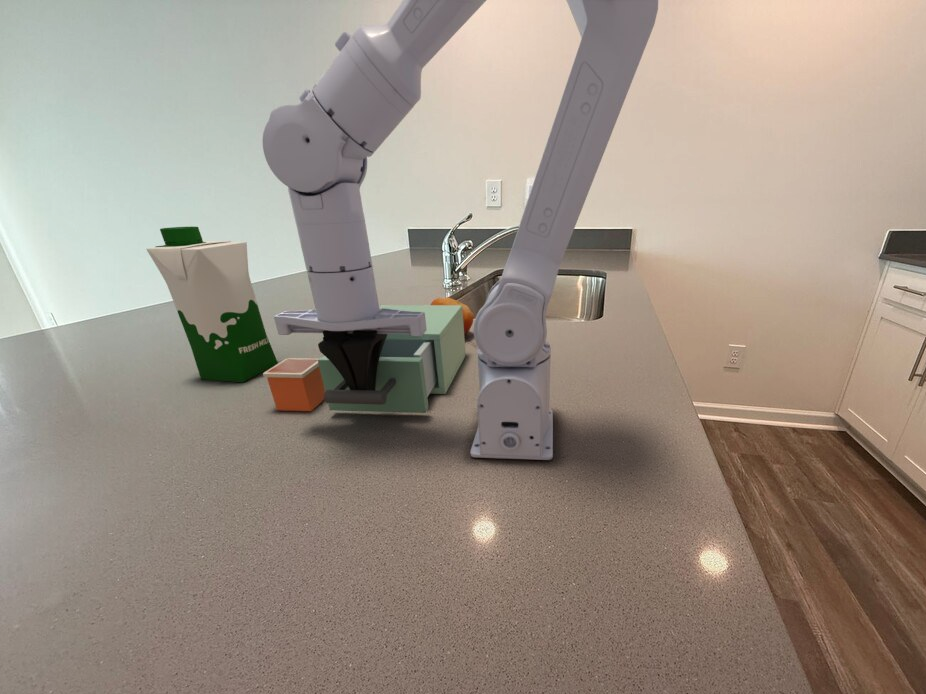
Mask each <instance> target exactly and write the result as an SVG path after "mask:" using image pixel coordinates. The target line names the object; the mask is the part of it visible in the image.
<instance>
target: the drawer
mask: <svg viewBox="0 0 926 694" xmlns="http://www.w3.org/2000/svg"><path fill="white" fill-rule="evenodd" d="M317 359H318V364H319V368H320V372H321V376H322V380H323V384H324V388H325V393H324V400H323V401H324V402H325V403H326V404H327V405H328V409H329V411H339V412H342V411H343V412H344V411H345V412H375V413H377V412H378V413H413V414H414V413H415V414H416V413H417V414H427V411H428V409H429V408H430V407H429V399H428V397H429V395H431V394H430V392H431V390H432V389H433V387H434V386H435V384H436V382H437V381H438V374H437V365H436V356H435V347H434V340H398V339H386V340H385V342H384V345H383V348H382V351H381V355H380V358H379V363H378V368H377V374H376V387H375V391H374V390H350V389H349V387H348V385H347V383H346V382H345V380H344V379H343V377H342V375H341V374H340V373H339V371H338V370H337V369H336V367H335V366H334V365H333V364H332V363H331V362H330V360H329V359H328V358H327V357H326V356H324V355H322V356H321V357H320V358H317Z"/></svg>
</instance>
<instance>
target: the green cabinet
mask: <svg viewBox="0 0 926 694" xmlns="http://www.w3.org/2000/svg"><path fill="white" fill-rule="evenodd" d="M379 308H387V309H395V310H403V311H414V312H425V319H426V328H427V330H426V331H425V333H424V334H423V335H422V336H421V337H413V336H411V334H387V337H386V339H398V340H434V347H435V356H436V365H437V374H438V381H437V382H436V384H435V386H434V387H433V389H432V390H431V392H430V394H429V395H446V394H447V392H448V390H449V388H450V386H451V385H452V382H453V380H454V379H455V376H456V375H457V373H458V371H459V369H460V367H461V365H462V363H463V361H464V360H465V358H466V355H467V354H466V353H467V352H466V339H465V336H464V324H463V311H462V305H431V304H381V305H379Z"/></svg>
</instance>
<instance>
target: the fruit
mask: <svg viewBox="0 0 926 694" xmlns="http://www.w3.org/2000/svg"><path fill="white" fill-rule="evenodd" d="M430 305H462V311H463V324H464V337H466V336H467V334H468V333H469V332H470V330H471V328H472V326H473V325H474V320H475V315H474V313H473V312H472V311H471V310H470V309H471V308H470V307H469V306H468V305H467V304H464V303H462V302H461V301H459V300H456V299H453V298H451V297H448V296H447V297H437V298H434V300H432V301H431V302H430Z"/></svg>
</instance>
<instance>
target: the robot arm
mask: <svg viewBox="0 0 926 694" xmlns="http://www.w3.org/2000/svg"><path fill="white" fill-rule="evenodd" d="M565 1H566V3H567V4H568V8H569V10H570V12H571V16H572V18H573V20H574V22H575V25H576V27H577V30H578V32H579V35H580V37H581V40H580V43H579V45H578V48H577V52H576V55H575V57H574V61H573V64H572V67H571V70H570V73H569V75H568V79H567V82H566V84H565V86H564V87H565V88H564V90H563V93H562V95H561V96H562V97H561V99H560V103H559V106H558V108H557V111H556V115H555V118H554V120H553V123H552V126H551V130H550V132H549V136H548V138H547V142H546V144H545V146H544V147H545V148H544V151H543V153H542V156H541V159H540V162H539V165H538V169H537V170H536V174H535V176H534V180H533V183H532V187H531V189H530V192H529V195H528V198H527V200H526V204H525V206H524V211H523V213H522V216H521V219H520V222H519V225H518V228H517V231H516V234H515V238H514V240H513V243H512V246H511V249H510V251H509V254H508V257H507V261H506V263H505V265H504V268H503V271H502V274H501V276H500V279H498V281H497V282H496V283H495V284H494V285H492V287H491V288H490V289H489V291H488V294H487V296H486V299H485V302H484V305H483V306H481V308H480V309H479V310H478V311H477V314H476V315H475V317H474V321H473V337H474V341H475V343H476V346H477V349H476V350H477V351H476V352H477V353H476V354H477V368H478V384H479V386H478V387H479V392H478V395H477V399H476V400H477V402H476V405H477V407H476V408H477V409H476V410H477V422H478V423H477V424H478V426H477V429H476V432H475V435H474V439H473V441H472V445H471V448H470V457H471V458H479V459H507V460H533V461H534V460H536V461H550V460H552V459H553V457H554V439H553V438H554V416H553V415H554V412H553V411H554V410H553V409H552V408H550V402H551V399H550V398H551V397H550V395H551V344H550V343H549V342H547V335H548V328H547V319H546V317H547V310H548V306H549V303H550V300H551V298H552V295H553V292H554V289H555V284H556V281H557V277H558V273H559V269H560V267H561V263H562V261H563V258H564V256H565V253H566V250H567V248H568V247H569V243H570V240H571V238H572V236H573V233H574V231H575V228H576V225H577V223H578V220H579V217H580V216H581V213H582V210H583V207H584V206H585V202H586V200H587V197H588V195H589V192H590V190H591V187H592V185H593V182H594V179H595V177H596V174H597V172H598V169H599V167H600V164H601V161H602V160H603V156H604V154H605V153H606V148H607V147H608V144H609V141H610V139H611V136H612V135H613V131H614V128H615V127H616V123H617V121H618V118H619V116H620V114H621V111H622V108H623V106H624V103H625V100H626V98H627V95H628V94H629V90H630V88H631V85H632V83H633V80H634V78H635V75H636V72H637V70H638V67H639V65H640V62H641V60H642V57H643V55H644V52H645V49H646V48H647V44H648V42H649V39H650V37H651V34H652V32H653V29H654V27H655V24H656V19H657V15H658V11H659V0H565ZM486 2H487V0H402V1H401V2H400V3H399V5H398V7H397V8H396V10H395V11H394V12H393V14H392V16H391V17H390V19H388V22H387V23H386V24H380V25H379V24H378V25H374V24H373V25H372V24H371V25H369V24H361V25H359V26H358V27H357V28H356V30H355V31H354V32H353V33H352V35H351V33H349V32H348V31H346V30H344V31H343V32H342V33H341V35H339V36H338V38H337V40H336V41H335V42H334V46H335V48H336V49H337V50H338V51H339V52H338V54H337V55H336V56H335V58H334V59H333V60H332V62H331V63H330V65H328V67H327V69H326V70H325V71H324V72H323V74H322V75H321V77H319V79H318V80H317V82H316V83H315V84H314V86H313V87H312V88H311V89H308V88H305V89H304V90H303V91H302V93H301V94H300V95H299V101H300V103H298V104H284V105H281V106H278V107H276V108H274V109H272V110H271V112H270V114H269V118H268V121H267V122H266V124H265V126H264V128H263V133H262V149H263V155H264V157H265V161H266V163H267V165H268V168H269V170H271V172H272V173H273V175H274V176H275V177H276V178H277V180H279V181H280V182H281V183H282V184H283V185H285V186H286V188H287V191H288V196H289V200H290V205H291V209H292V213H293V218H294V222H295V226H296V231H297V234H298V240H299V244H300V248H301V252H302V256H303V261H304V265H305V270H306V273H307V278H308V283H309V286H310V291H311V295H312V299H313V304H314V308H315V309H303V310H302V309H301V310H285V311H283V312H280V313H278V314H275V315H273V319H274V323H275V326H276V330H277V334H278V336H290V335H291V334H322V335H323V337H322V340H321V341H319V343H318V344H317V347H318V350H319V352H320V353H321V354H322V356H326V357H327V358H328V359H329V360H330V362H331V363H332V364H333V365H334V366H335V367H336V369H337V370H338V371H339V373H340V374H341V375H342V377H343V379H344V380H345V382H346V383H347V385H348V387H349V389H350V390H374V391H375V387H376V374H377V368H378V363H379V358H380V355H381V351H382V348H383V345H384V342H385V340H386V337H387V334H411V336H413V337H421V336H422V335H423V334H424V333H425V331H426V330H427V328H426V319H425V312H414V311H403V310H395V309H387V308H379V306H380V303H379V297H378V293H377V292H378V291H377V285H376V279H375V274H374V273H375V272H374V268H373V267H374V266H373V261H372V255H371V248H370V243H369V237H368V231H367V224H366V219H365V218H366V217H365V213H364V208H363V202H362V196H361V187H362V184H363V182H364V180H365V179H366V175H367V171H368V158H370V157H372V156H373V155H374V153H375V152H376V151H377V150H378V149H379V148H380V146H381V145H382V144H383V143H384V142H385V141H386V139H388V137H389V136H390V135H391V134H392V133H393V131H395V129H396V128H397V127H398V126H399V125H400V123H401V122H402V121H403V120H404V119H405V118H406V116H407V115H408V114H410V112H411V111H412V110H413V109H414V107H415V106H416V104H418V102H419V101H420V100H421V98H422V72H423V69H424V68H425V67H426V66H427V65H428V64H429V62H430V61H431V60H432V59H433V58H434V57H435V56H436V55H437V54H438V53H439V51H441V50H442V49H443V47H444V46H445V45H446V44H447V43H448V42H449V41H450V40H451V39H452V38H453V37H454V36H455V35H456V33H457V32H458V31H459V30H460V29H461V28H462V27H463V26H464V25H465V24H466V23H467V22H468V21H469V20H470V19H471V18H472V17H473V16H474V15H475V14H476V12H477V11H478V10H479V9H480V8H481V7H482V6H483V5H484V4H485V3H486Z"/></svg>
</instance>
